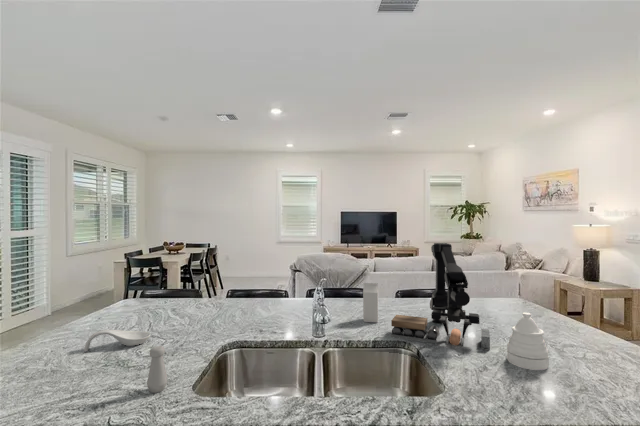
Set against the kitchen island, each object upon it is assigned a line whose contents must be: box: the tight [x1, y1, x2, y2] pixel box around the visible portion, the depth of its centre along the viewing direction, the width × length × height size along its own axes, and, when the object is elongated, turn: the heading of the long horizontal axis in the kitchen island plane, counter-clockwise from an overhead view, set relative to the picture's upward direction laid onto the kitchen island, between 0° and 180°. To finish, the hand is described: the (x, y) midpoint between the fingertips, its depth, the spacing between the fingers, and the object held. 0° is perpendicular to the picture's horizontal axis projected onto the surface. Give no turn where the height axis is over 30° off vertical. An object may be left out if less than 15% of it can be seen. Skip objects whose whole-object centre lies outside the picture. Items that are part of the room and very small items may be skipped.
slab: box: [390, 314, 428, 330], centre depth 154 cm, size 10×14×2 cm
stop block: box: [480, 328, 491, 351], centre depth 141 cm, size 10×3×5 cm, turn 155°
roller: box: [449, 328, 462, 346], centre depth 146 cm, size 10×4×4 cm, turn 155°
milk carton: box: [362, 282, 379, 324], centre depth 176 cm, size 7×7×19 cm
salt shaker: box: [146, 345, 168, 394], centre depth 107 cm, size 6×6×13 cm
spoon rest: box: [83, 329, 152, 353], centre depth 143 cm, size 24×12×7 cm, turn 115°
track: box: [390, 325, 465, 347], centre depth 151 cm, size 12×29×4 cm, turn 65°
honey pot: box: [506, 312, 550, 371], centre depth 125 cm, size 13×13×18 cm
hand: (455, 336), depth 146 cm, fingers open, 6 cm apart
